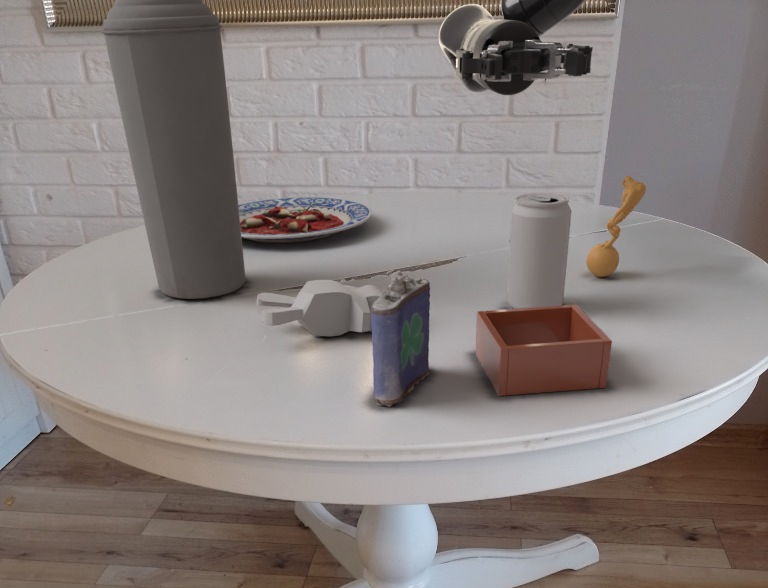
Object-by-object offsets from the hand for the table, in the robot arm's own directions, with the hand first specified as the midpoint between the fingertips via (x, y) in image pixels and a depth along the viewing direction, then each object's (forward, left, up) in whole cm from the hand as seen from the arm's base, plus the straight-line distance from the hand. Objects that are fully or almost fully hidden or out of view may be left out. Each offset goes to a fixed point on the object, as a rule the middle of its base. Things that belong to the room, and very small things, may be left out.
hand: (539, 66), depth 81 cm
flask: (+8, +28, -24) cm, 38 cm away
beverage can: (-2, +4, -24) cm, 25 cm away
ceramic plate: (+39, -27, -24) cm, 54 cm away
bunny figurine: (+19, +15, -24) cm, 34 cm away
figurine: (-10, -9, -24) cm, 28 cm away
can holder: (-4, +22, -24) cm, 33 cm away
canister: (+40, +3, -24) cm, 47 cm away
